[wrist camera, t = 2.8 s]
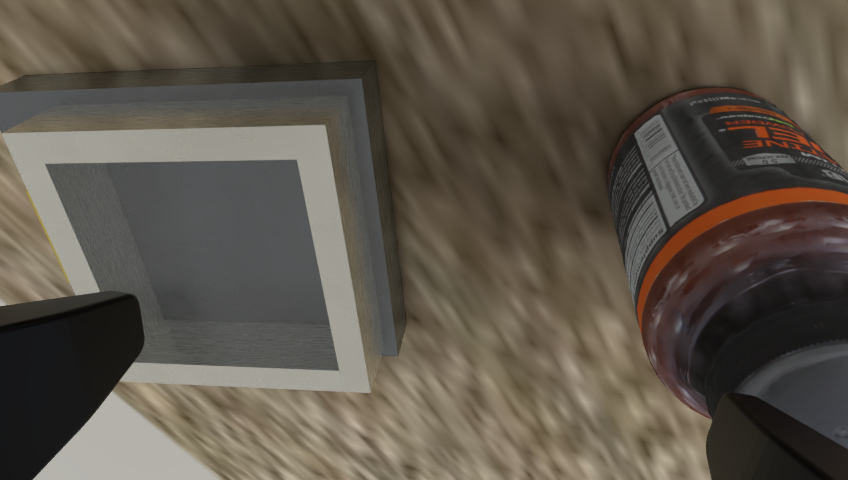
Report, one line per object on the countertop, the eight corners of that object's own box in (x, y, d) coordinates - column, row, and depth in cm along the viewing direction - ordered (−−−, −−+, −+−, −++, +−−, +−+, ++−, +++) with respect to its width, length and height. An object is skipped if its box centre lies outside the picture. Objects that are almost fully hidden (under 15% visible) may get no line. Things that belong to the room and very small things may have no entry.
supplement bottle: (834, 112, 19) (1154, 366, 9) (732, 263, 22) (893, 567, 12) (651, 55, 19) (785, 252, 9) (575, 214, 22) (616, 485, 12)
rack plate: (375, 60, 20) (340, 106, 16) (406, 323, 26) (385, 403, 22) (25, 75, 22) (-79, 119, 18) (125, 316, 28) (61, 387, 24)
